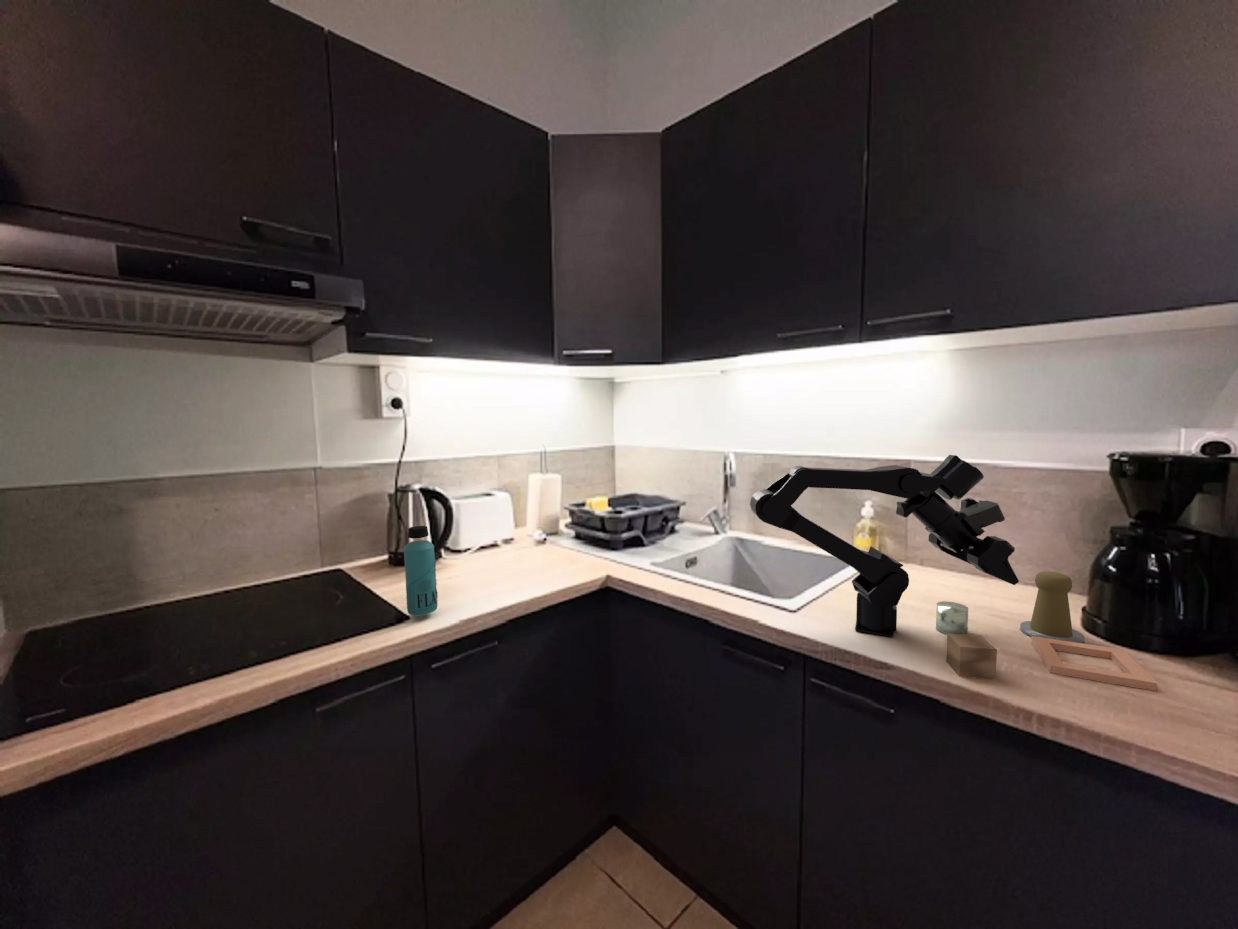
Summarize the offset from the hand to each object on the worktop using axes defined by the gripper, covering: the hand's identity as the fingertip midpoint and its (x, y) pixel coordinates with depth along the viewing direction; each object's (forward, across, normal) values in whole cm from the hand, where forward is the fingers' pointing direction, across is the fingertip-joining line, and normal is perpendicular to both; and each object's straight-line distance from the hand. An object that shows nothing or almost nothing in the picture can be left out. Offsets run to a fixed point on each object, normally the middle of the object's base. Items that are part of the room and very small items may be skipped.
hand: (1000, 575), depth 92 cm
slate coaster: (+14, 0, +2) cm, 14 cm away
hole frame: (+13, -12, +3) cm, 18 cm away
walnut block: (-1, -16, +17) cm, 23 cm away
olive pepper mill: (+14, 0, +1) cm, 14 cm away
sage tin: (+2, 0, +14) cm, 14 cm away
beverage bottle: (-74, -3, +90) cm, 116 cm away
